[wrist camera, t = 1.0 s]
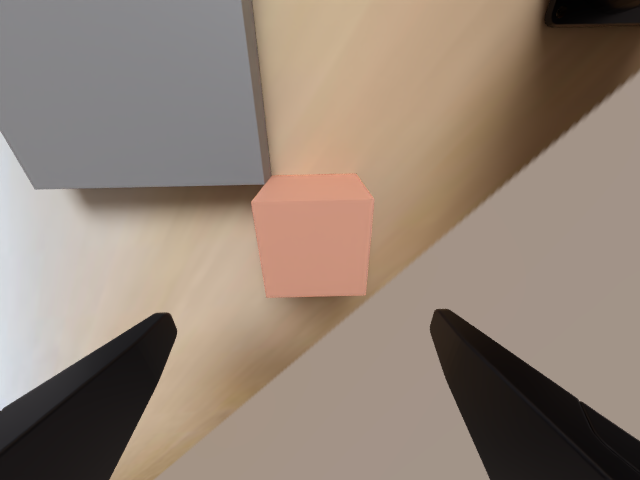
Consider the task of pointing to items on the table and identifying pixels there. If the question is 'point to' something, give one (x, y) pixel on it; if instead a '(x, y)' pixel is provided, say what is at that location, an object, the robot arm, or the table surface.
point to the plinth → (133, 93)
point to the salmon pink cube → (314, 235)
